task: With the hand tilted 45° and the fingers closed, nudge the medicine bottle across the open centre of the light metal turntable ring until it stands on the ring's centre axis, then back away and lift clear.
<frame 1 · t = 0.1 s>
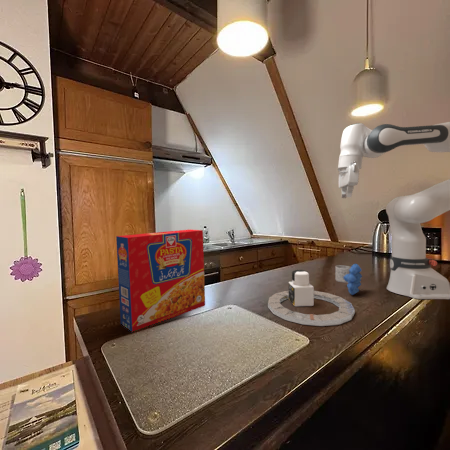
hand: (346, 197, 106), 39 cm above the counter, tool pointing down, fingers open, 8 cm apart
grapes: (352, 293, 102), on the counter
mug: (342, 279, 121), on the counter
medicine bottle: (300, 303, 93), resting in turntable ring
pasta box: (166, 314, 86), on the counter
turntable ring: (308, 304, 88), point 1 cm above the counter, hinge at 0.0°
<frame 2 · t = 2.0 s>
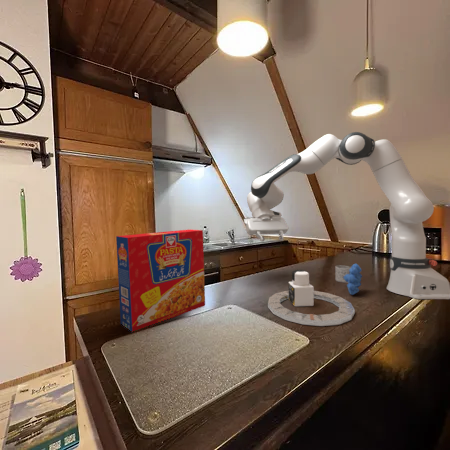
hand: (272, 240, 112), 21 cm above the counter, tool tilted 45°, fingers open, 8 cm apart
nothing on the counter moved.
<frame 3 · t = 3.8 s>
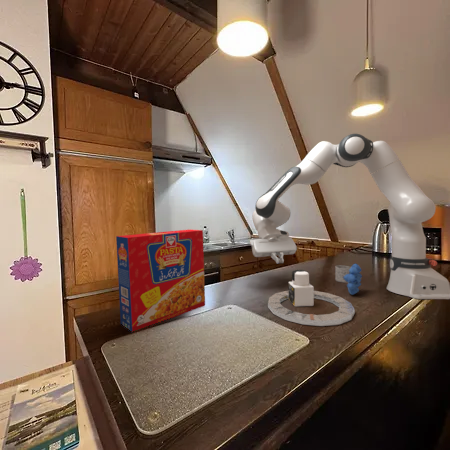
hand: (280, 262, 106), 12 cm above the counter, tool tilted 45°, fingers closed
nothing on the counter moved.
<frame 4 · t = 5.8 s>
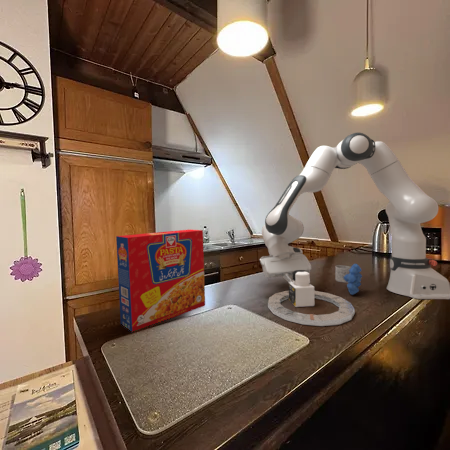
hand: (294, 284, 96), 6 cm above the counter, tool tilted 45°, fingers closed
medicine bottle: (301, 303, 92), resting in turntable ring, touching gripper
everything else where it was.
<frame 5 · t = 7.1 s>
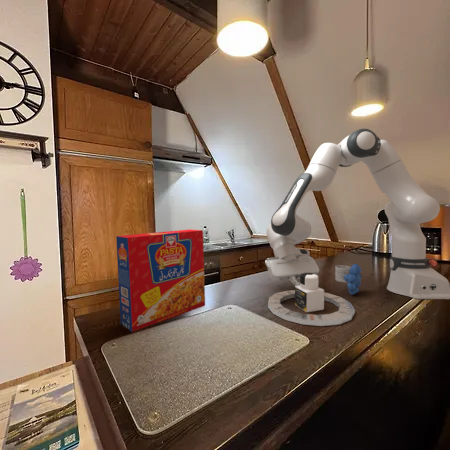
hand: (301, 287, 92), 6 cm above the counter, tool tilted 45°, fingers closed, pressing on medicine bottle
medicine bottle: (309, 307, 88), resting in turntable ring, touching gripper
everything else where it was.
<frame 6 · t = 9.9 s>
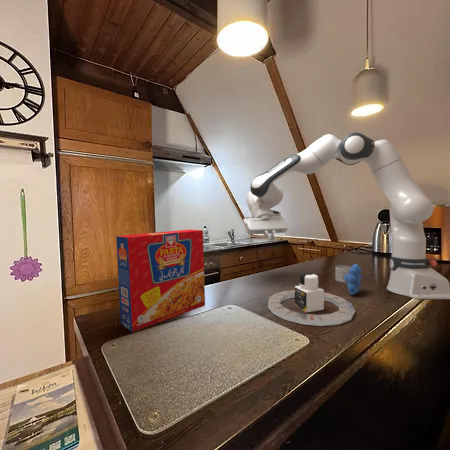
hand: (272, 239, 112), 21 cm above the counter, tool tilted 45°, fingers closed
medicine bottle: (309, 308, 88), resting in turntable ring
everything else where it was.
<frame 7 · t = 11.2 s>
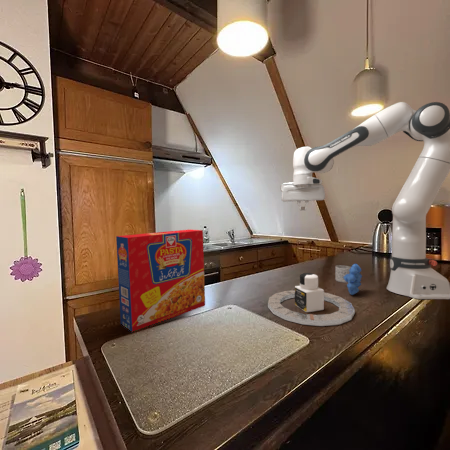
hand: (302, 210, 122), 34 cm above the counter, tool pointing down, fingers closed
nothing on the counter moved.
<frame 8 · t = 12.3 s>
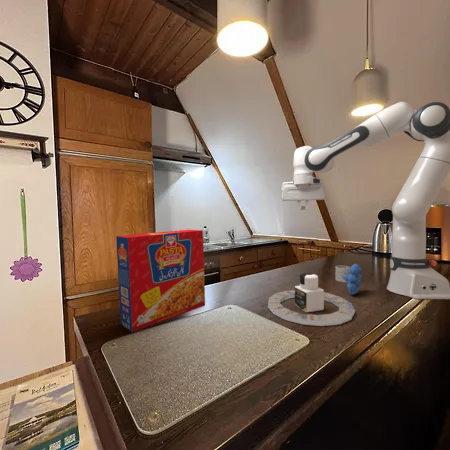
hand: (303, 209, 122), 34 cm above the counter, tool pointing down, fingers closed
nothing on the counter moved.
at the end: medicine bottle 0.1 cm from the turntable ring (horizontally); medicine bottle tilted 0° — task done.
